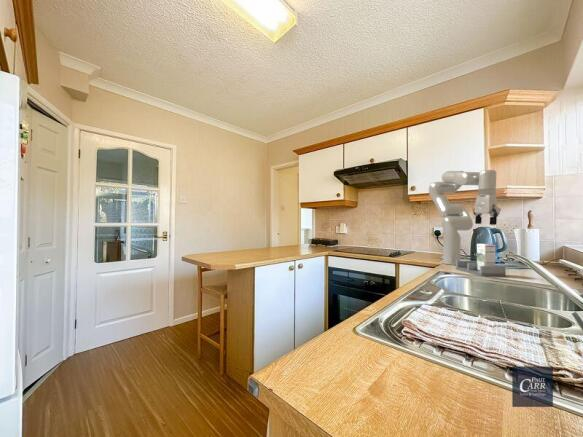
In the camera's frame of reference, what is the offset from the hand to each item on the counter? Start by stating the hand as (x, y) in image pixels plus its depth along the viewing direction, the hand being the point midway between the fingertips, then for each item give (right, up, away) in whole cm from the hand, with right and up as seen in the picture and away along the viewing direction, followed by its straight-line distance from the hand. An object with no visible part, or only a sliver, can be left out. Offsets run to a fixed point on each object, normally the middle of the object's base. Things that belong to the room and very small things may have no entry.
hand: (485, 224), depth 133 cm
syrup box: (-4, -25, -5) cm, 26 cm away
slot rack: (-4, -26, -1) cm, 27 cm away
